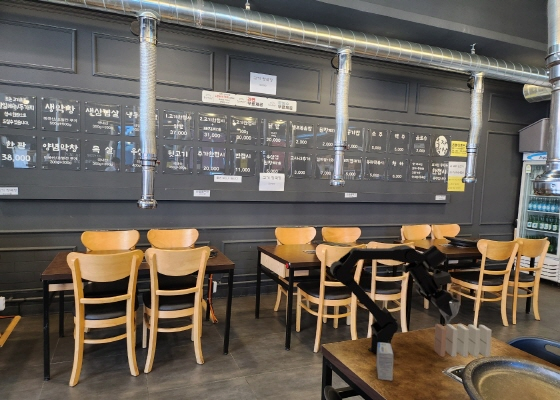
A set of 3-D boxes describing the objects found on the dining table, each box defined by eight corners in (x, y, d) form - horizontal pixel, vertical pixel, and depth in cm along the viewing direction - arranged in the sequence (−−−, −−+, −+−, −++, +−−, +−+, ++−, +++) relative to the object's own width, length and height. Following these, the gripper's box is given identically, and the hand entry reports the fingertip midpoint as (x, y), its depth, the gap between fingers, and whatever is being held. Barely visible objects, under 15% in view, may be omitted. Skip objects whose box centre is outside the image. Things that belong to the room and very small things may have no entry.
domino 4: (474, 357, 128) (476, 329, 128) (466, 350, 133) (468, 324, 133) (478, 357, 128) (480, 330, 128) (470, 350, 133) (472, 324, 133)
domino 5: (485, 357, 128) (487, 330, 128) (477, 351, 133) (478, 324, 133) (490, 357, 129) (491, 330, 128) (481, 351, 134) (483, 324, 133)
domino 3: (463, 356, 128) (464, 329, 128) (455, 350, 133) (457, 324, 133) (467, 357, 128) (469, 329, 128) (459, 350, 133) (461, 324, 133)
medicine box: (392, 381, 109) (393, 354, 109) (377, 379, 110) (379, 352, 110) (389, 369, 117) (391, 343, 117) (375, 367, 118) (377, 341, 118)
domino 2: (451, 356, 128) (453, 329, 128) (444, 350, 133) (446, 324, 132) (456, 356, 128) (457, 329, 128) (449, 350, 133) (450, 324, 133)
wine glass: (461, 339, 144) (463, 302, 143) (441, 338, 144) (443, 301, 143) (452, 331, 152) (454, 296, 151) (433, 330, 152) (435, 295, 151)
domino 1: (440, 356, 128) (442, 329, 127) (433, 350, 133) (435, 323, 132) (445, 356, 128) (446, 329, 127) (438, 350, 133) (439, 324, 132)
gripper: (453, 269, 119) (478, 307, 119) (429, 258, 137) (450, 291, 138) (425, 288, 119) (450, 326, 119) (405, 274, 138) (427, 307, 138)
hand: (445, 311), depth 129 cm, fingers open, 9 cm apart
